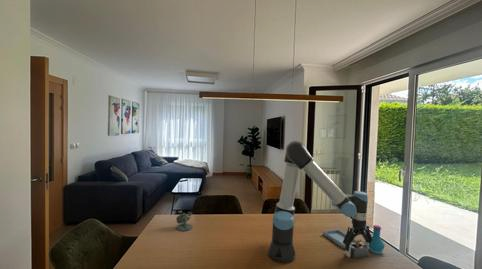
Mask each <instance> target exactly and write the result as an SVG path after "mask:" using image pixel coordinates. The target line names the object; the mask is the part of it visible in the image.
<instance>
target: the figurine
mask: <svg viewBox="0 0 482 269" xmlns="http://www.w3.org/2000/svg"><path fill="white" fill-rule="evenodd" d="M177 213H178V214H179V215H178V216H176V219H175V220H176V223H177V224H178V225H176V227H175V229H176V230H177V231H179V232H188V231H191V230H192V229H193V225H192V224H190V223H187V222H188V221H189V220H190V219H191V218H192V215H193V212H190V211H189V212H187V213H185V212H183V211H182V210H178V212H177Z"/></svg>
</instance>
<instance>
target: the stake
mask: <svg viewBox="0 0 482 269" xmlns="http://www.w3.org/2000/svg"><path fill="white" fill-rule="evenodd" d="M355 242H356V247H359V242H361V243H363V242H362V239H356V240H355Z"/></svg>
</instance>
